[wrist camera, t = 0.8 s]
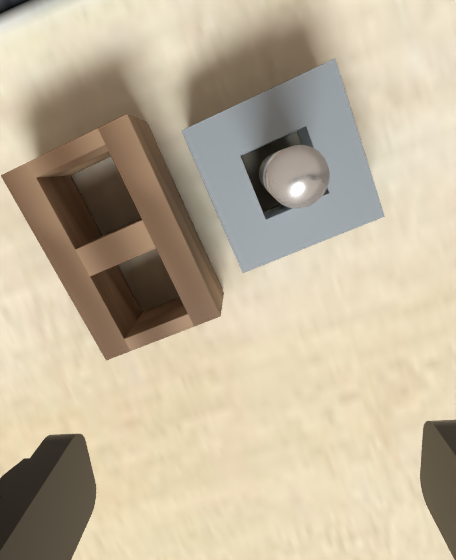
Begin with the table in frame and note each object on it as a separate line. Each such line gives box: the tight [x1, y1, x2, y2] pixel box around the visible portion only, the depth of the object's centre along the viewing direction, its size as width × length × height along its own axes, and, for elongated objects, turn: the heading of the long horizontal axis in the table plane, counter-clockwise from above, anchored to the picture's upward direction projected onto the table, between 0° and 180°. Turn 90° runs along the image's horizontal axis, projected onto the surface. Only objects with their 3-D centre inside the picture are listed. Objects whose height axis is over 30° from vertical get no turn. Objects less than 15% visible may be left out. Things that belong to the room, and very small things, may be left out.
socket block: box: [182, 59, 384, 273], centre depth 26 cm, size 10×10×4 cm
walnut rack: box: [1, 114, 224, 360], centre depth 28 cm, size 9×14×5 cm, turn 23°
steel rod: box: [259, 145, 330, 209], centre depth 23 cm, size 3×3×10 cm
